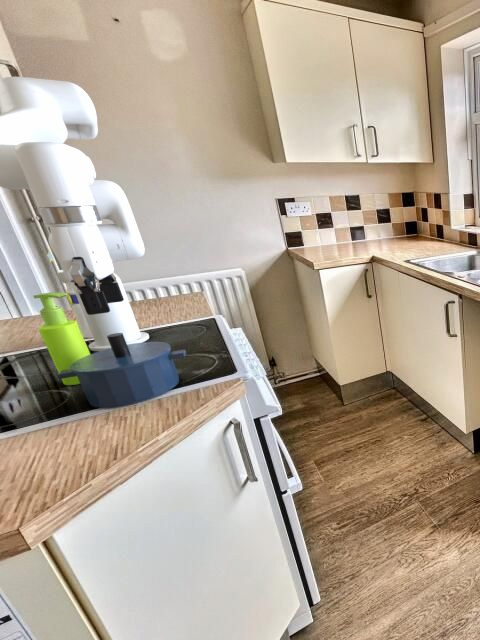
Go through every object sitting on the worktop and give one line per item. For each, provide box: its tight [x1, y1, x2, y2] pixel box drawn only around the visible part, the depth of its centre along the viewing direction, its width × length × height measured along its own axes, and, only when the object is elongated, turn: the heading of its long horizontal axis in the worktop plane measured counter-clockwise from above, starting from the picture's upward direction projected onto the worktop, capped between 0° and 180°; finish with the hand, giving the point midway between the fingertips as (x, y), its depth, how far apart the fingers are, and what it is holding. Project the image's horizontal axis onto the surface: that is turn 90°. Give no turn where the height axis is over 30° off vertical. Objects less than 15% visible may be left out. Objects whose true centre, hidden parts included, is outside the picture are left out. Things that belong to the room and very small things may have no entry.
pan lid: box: [70, 333, 172, 374], centre depth 86 cm, size 16×16×6 cm
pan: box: [57, 349, 187, 409], centre depth 88 cm, size 15×20×8 cm
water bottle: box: [46, 250, 94, 339], centre depth 121 cm, size 8×9×25 cm
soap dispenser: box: [33, 291, 91, 386], centre depth 92 cm, size 6×7×20 cm
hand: (107, 307), depth 83 cm, fingers open, 9 cm apart
